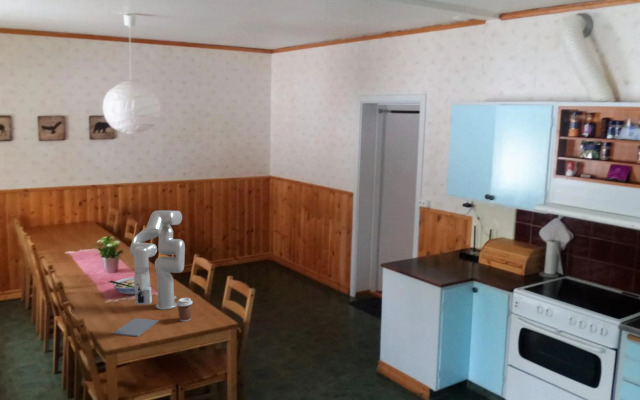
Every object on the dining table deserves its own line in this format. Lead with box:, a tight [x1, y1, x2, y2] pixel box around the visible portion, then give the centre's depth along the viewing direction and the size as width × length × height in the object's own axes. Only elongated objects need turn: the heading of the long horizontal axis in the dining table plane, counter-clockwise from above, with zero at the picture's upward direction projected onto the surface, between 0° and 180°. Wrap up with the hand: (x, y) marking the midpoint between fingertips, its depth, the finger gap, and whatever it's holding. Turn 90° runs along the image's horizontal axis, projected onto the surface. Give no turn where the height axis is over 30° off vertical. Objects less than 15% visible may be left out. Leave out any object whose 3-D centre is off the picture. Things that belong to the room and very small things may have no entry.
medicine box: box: [134, 286, 153, 305], centre depth 312 cm, size 8×4×9 cm, turn 93°
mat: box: [112, 317, 159, 337], centre depth 318 cm, size 22×15×1 cm
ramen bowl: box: [108, 276, 135, 296], centre depth 377 cm, size 25×23×8 cm
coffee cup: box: [176, 297, 193, 322], centre depth 330 cm, size 9×9×12 cm
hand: (143, 300), depth 313 cm, fingers closed on medicine box, 5 cm apart
